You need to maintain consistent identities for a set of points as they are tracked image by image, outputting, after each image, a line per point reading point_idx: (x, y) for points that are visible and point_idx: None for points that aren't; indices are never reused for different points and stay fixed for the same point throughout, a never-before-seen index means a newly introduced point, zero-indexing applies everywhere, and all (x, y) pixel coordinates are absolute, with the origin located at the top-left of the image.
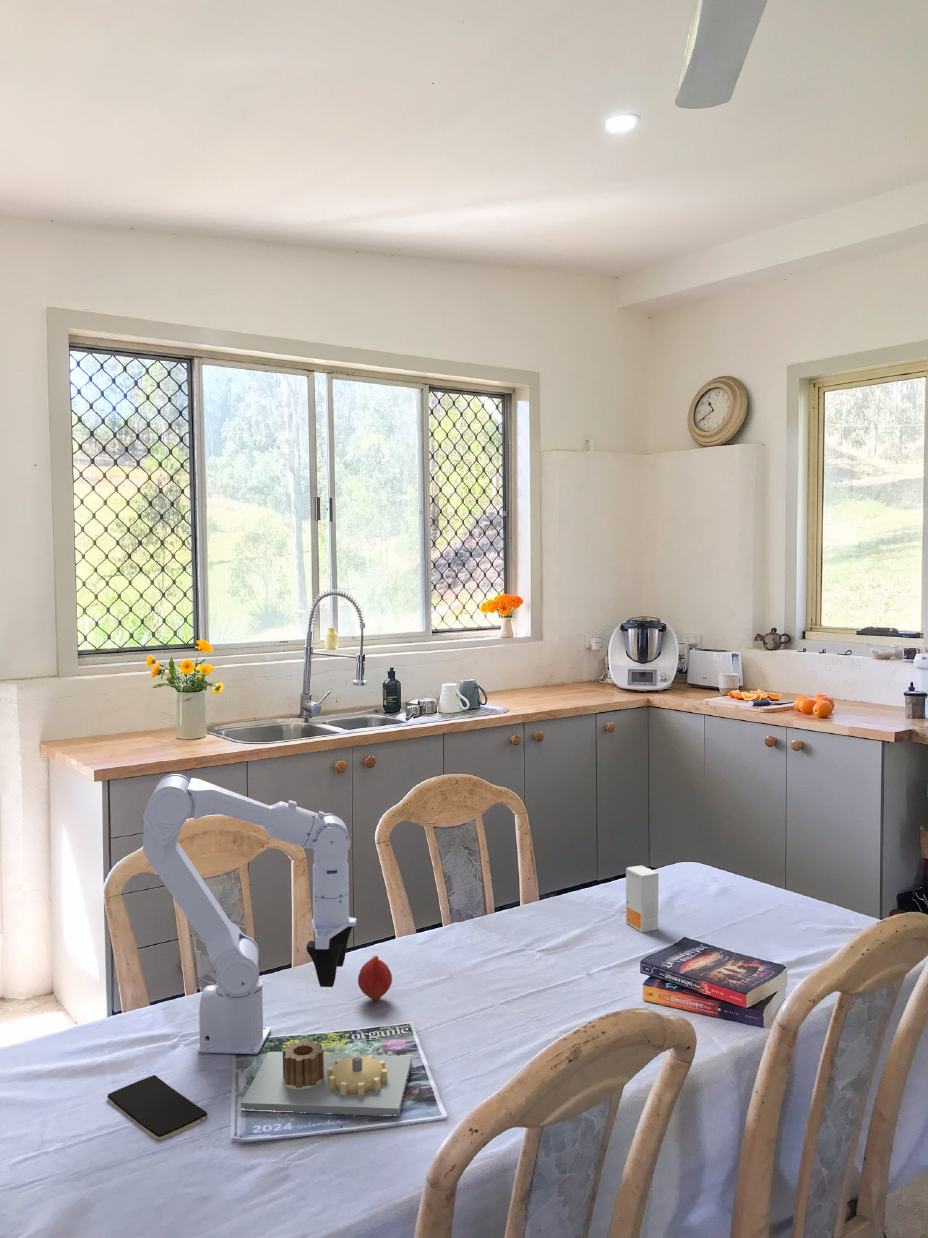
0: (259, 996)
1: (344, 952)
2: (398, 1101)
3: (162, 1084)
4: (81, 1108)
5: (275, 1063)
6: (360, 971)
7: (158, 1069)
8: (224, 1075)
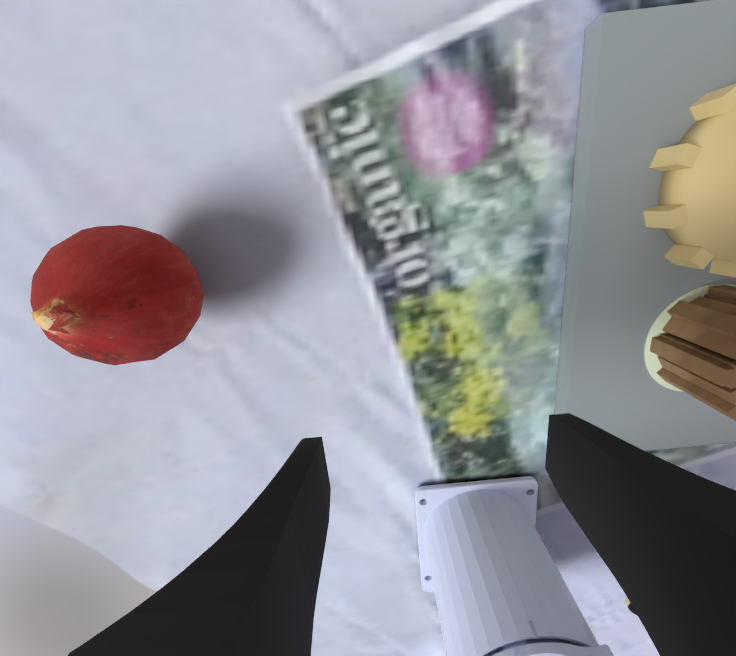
0: (544, 613)
1: (304, 485)
2: None
3: None
4: None
5: (621, 426)
6: (132, 361)
7: (586, 608)
8: None
